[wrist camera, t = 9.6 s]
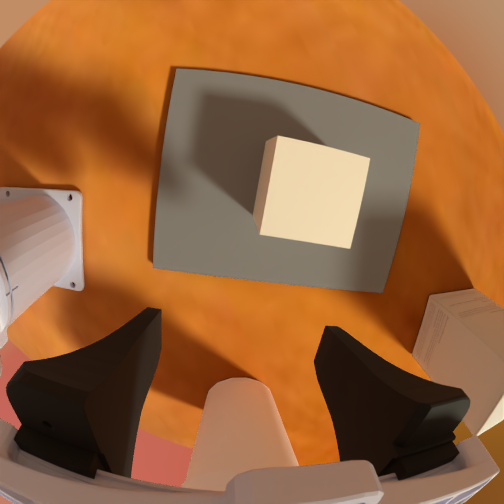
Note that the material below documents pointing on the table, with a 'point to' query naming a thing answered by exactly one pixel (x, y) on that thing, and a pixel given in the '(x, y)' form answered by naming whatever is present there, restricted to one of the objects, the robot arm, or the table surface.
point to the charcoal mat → (248, 172)
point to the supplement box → (466, 352)
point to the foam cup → (237, 435)
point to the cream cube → (309, 192)
